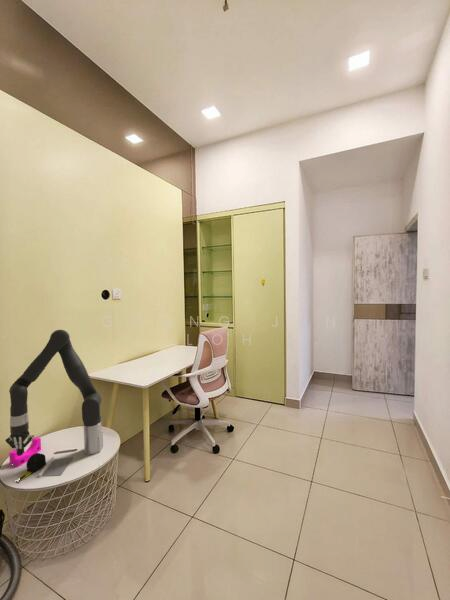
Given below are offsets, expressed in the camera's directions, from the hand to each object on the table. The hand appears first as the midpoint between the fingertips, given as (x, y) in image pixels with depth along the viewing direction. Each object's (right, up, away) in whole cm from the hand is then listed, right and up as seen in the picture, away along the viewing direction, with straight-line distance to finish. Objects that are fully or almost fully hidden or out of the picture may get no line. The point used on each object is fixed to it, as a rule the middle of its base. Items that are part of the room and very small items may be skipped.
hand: (20, 454), depth 138 cm
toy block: (-4, -9, +11) cm, 14 cm away
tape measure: (+7, -9, -2) cm, 11 cm away
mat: (+17, -8, +3) cm, 19 cm away
